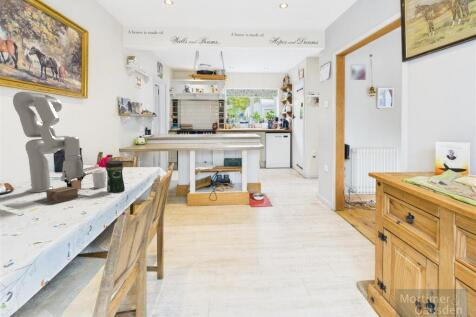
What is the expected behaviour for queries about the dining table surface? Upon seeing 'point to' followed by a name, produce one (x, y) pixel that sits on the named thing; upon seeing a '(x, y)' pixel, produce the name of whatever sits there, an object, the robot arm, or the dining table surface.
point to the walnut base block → (62, 194)
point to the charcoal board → (49, 202)
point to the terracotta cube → (76, 184)
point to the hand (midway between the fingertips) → (74, 188)
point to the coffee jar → (114, 176)
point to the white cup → (99, 179)
